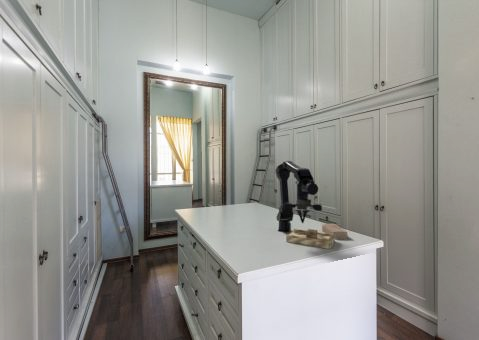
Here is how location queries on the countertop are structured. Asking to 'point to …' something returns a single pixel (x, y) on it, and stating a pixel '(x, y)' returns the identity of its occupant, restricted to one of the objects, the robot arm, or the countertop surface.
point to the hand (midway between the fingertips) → (302, 222)
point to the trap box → (311, 239)
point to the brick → (334, 231)
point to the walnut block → (311, 233)
